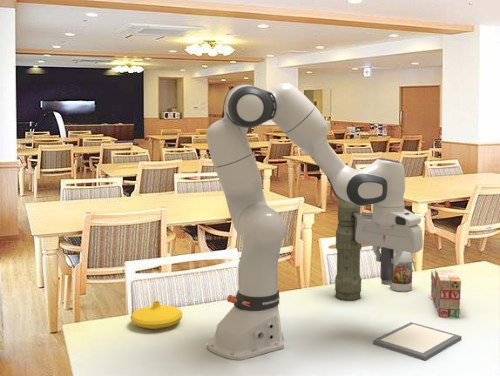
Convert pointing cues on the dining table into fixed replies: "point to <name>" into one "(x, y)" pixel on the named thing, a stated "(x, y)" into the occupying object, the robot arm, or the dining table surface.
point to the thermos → (347, 253)
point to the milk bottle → (402, 273)
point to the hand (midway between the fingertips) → (387, 262)
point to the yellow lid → (156, 316)
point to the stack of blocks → (446, 293)
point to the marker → (386, 265)
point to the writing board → (417, 340)
